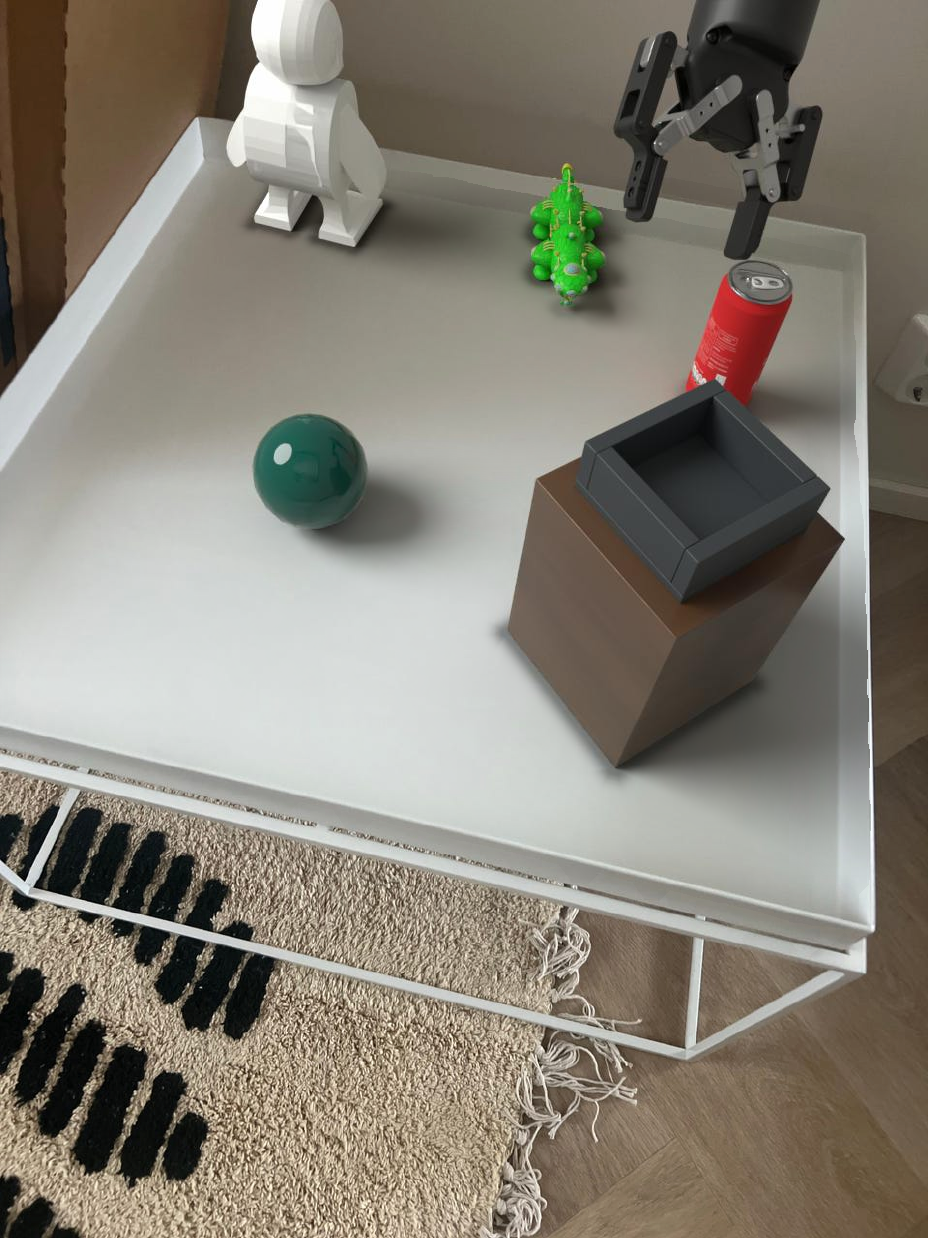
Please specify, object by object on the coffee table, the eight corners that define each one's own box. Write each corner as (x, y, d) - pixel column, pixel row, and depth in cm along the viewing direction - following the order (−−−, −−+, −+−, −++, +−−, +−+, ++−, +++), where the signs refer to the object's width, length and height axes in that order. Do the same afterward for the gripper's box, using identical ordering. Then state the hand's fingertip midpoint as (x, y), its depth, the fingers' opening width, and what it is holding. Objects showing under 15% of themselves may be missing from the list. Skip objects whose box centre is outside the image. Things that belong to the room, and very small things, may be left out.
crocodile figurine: (528, 319, 84) (534, 278, 80) (527, 190, 93) (532, 148, 90) (605, 325, 84) (614, 284, 80) (596, 195, 93) (604, 153, 90)
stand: (641, 556, 71) (700, 397, 57) (753, 680, 66) (846, 538, 53) (506, 630, 67) (535, 478, 53) (614, 768, 62) (676, 639, 48)
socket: (697, 423, 56) (714, 377, 53) (806, 531, 53) (831, 488, 50) (573, 485, 53) (584, 440, 50) (680, 604, 50) (698, 563, 47)
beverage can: (679, 376, 81) (720, 254, 71) (741, 380, 81) (791, 259, 71) (685, 423, 78) (728, 302, 68) (749, 427, 78) (801, 307, 68)
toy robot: (401, 208, 91) (403, -27, 74) (369, 268, 86) (363, 32, 69) (261, 174, 92) (231, -64, 75) (222, 231, 87) (180, -9, 70)
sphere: (256, 552, 69) (241, 478, 62) (262, 465, 73) (249, 387, 67) (369, 551, 70) (367, 478, 63) (369, 465, 74) (367, 388, 67)
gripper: (716, -95, 55) (634, 205, 59) (888, 7, 62) (804, 270, 65) (641, -59, 61) (571, 209, 65) (803, 30, 68) (732, 269, 72)
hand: (688, 240), depth 65 cm, fingers open, 8 cm apart
